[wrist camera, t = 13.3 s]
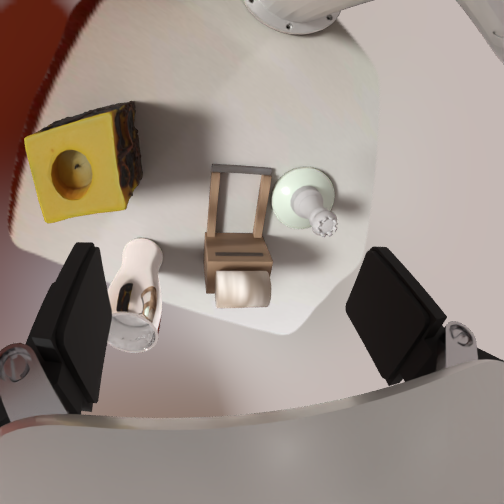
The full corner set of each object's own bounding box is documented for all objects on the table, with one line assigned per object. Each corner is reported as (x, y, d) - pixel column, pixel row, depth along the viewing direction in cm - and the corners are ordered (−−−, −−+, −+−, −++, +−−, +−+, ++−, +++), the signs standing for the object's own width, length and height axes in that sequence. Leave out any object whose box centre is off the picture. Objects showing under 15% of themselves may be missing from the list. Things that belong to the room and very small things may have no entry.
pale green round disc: (276, 163, 37) (278, 165, 36) (337, 170, 39) (341, 173, 38) (266, 224, 42) (267, 227, 41) (323, 227, 44) (326, 230, 43)
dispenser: (210, 164, 35) (217, 199, 26) (272, 168, 37) (301, 203, 28) (203, 262, 43) (208, 317, 34) (256, 262, 45) (274, 315, 36)
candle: (135, 99, 29) (113, 107, 21) (145, 177, 35) (130, 210, 27) (60, 117, 28) (21, 134, 19) (74, 190, 33) (45, 225, 25)
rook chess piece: (325, 193, 39) (352, 219, 33) (308, 218, 41) (330, 249, 35) (300, 178, 38) (324, 203, 31) (282, 206, 39) (302, 235, 33)
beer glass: (166, 235, 40) (158, 313, 27) (166, 275, 43) (162, 355, 31) (118, 233, 38) (92, 309, 26) (121, 273, 42) (104, 352, 29)
